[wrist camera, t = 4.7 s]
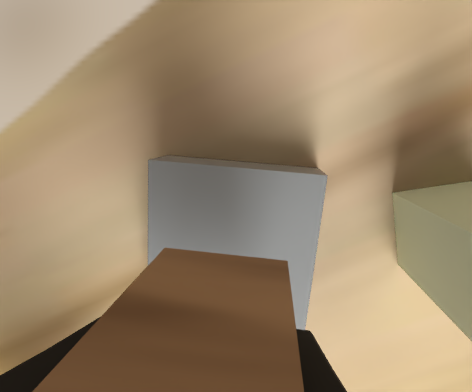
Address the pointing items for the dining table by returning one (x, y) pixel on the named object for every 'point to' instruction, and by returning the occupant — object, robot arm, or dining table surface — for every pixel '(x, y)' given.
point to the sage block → (438, 246)
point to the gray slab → (239, 213)
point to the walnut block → (191, 331)
